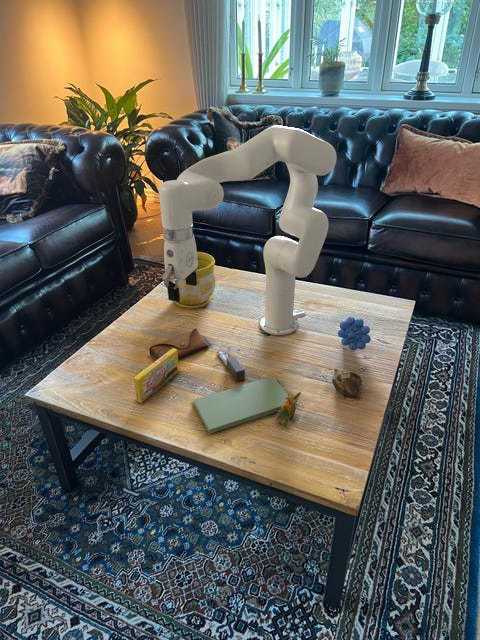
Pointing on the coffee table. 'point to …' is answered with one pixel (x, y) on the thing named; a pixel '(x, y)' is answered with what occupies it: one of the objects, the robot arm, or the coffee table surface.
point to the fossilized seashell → (347, 383)
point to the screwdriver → (233, 366)
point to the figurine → (287, 409)
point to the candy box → (156, 375)
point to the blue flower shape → (354, 333)
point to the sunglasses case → (180, 345)
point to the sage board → (240, 404)
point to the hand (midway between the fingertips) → (183, 292)
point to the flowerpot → (198, 284)
